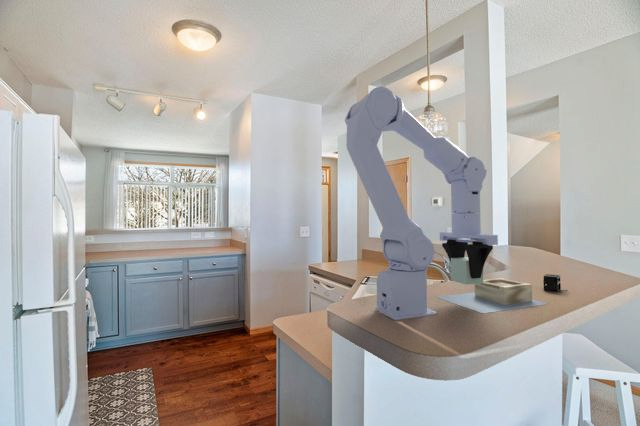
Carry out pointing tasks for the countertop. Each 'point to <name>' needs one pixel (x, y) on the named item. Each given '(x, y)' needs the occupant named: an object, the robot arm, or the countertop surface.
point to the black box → (552, 283)
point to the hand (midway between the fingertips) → (466, 276)
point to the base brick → (504, 291)
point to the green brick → (463, 271)
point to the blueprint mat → (485, 303)
